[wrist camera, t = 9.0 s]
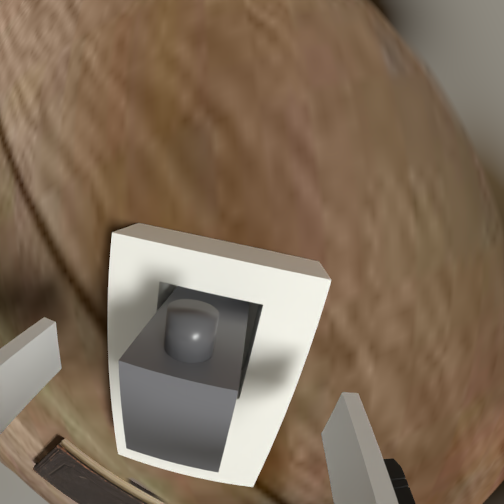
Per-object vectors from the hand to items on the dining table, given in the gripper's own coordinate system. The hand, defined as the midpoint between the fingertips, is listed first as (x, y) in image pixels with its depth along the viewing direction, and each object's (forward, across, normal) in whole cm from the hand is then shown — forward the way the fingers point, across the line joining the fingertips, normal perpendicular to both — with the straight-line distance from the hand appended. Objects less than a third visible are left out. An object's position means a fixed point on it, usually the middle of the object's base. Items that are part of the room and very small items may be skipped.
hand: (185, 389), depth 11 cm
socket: (+7, 0, -4) cm, 8 cm away
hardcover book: (+8, -9, -33) cm, 35 cm away
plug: (+7, 0, 0) cm, 7 cm away
